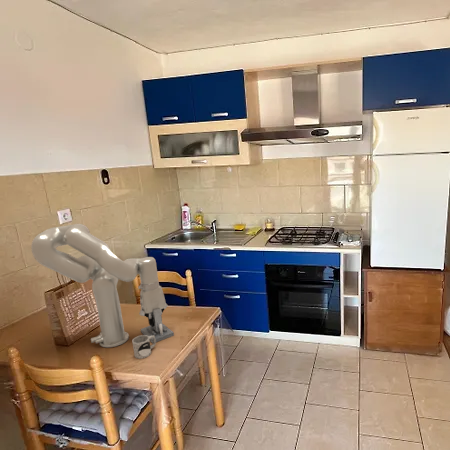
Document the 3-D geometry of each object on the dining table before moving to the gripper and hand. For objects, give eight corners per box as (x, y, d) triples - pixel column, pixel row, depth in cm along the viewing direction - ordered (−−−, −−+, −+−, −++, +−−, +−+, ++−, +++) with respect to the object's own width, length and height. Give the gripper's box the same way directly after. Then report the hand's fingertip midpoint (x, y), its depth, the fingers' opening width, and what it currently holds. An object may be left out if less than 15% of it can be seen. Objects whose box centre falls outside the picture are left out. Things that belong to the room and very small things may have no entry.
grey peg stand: (174, 335, 161) (172, 321, 160) (152, 343, 156) (150, 329, 154) (161, 324, 172) (159, 312, 171) (141, 332, 167) (139, 318, 166)
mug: (140, 360, 143) (138, 345, 142) (131, 355, 148) (129, 340, 147) (161, 349, 150) (159, 334, 149) (151, 344, 155) (149, 330, 154)
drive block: (163, 329, 161) (160, 308, 159) (156, 331, 159) (153, 310, 157) (155, 323, 168) (153, 303, 166) (149, 325, 166) (146, 305, 164)
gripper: (135, 293, 152) (141, 333, 156) (170, 282, 161) (176, 321, 164) (129, 288, 158) (135, 327, 162) (163, 278, 167) (168, 315, 171)
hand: (155, 324), depth 163 cm, fingers closed on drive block, 3 cm apart
